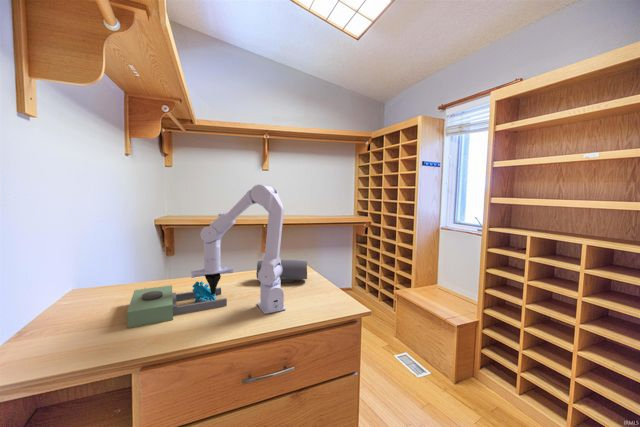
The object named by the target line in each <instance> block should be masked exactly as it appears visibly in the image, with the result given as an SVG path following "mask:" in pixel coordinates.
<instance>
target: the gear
mask: <svg viewBox="0 0 640 427" xmlns="http://www.w3.org/2000/svg"><path fill="white" fill-rule="evenodd" d="M192 288H193V289H192V291H193V292H196V294H195V296H196V298H195V299H193V300H194V303H198V301H200V302H205V301H211V300H217V297H215V296H217V295H216V294H213V295H211V291H210V286H209V284H208V283H206V284H205V282H203V281H195V283H194V284H193V285H192Z"/></svg>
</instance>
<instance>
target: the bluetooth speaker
mask: <svg viewBox="0 0 640 427" xmlns="http://www.w3.org/2000/svg"><path fill="white" fill-rule="evenodd" d="M262 262H263V260H258V261H257V262H256V273H255V274H256V279H257V280H259V279H258V272H259V271H260V269H261V265H262ZM281 266H282V269H283V270H282V274H281V275H280V280H281V283H293V282H294V281H299V280H308V261H307V260H297V259H294V260H293V259H281Z"/></svg>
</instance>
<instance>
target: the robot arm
mask: <svg viewBox="0 0 640 427" xmlns="http://www.w3.org/2000/svg"><path fill="white" fill-rule="evenodd" d="M255 204H258V205H260V206H261V207H263V208H264V210H265V211H266V212H267V213H268V217H267V218H268V219H267V229H266V237H265V249H264V257H263V259H262V261H263V262H262V265H261V269H260V271H259V272H258V279H257V280H258V281H259V284H260V287H259V288H260V294H259V295H260V301H258V302H256V305H257V306H258V307H259V309H260V310H261V311H262V312H263V314H264V315H266V314H270V313H276V312H280V311H285V310H287V307H286V306H285V305H284V302H285V300H284V299H285V298H284V296H285V294H284V291H283V289H282V285H281V283H282V282H281V280H280V275H281V274H282V270H283V269H282V266H281V260H282V258H281V256H280V253H281V245H282V244H281V243H282V235H283V234H282V232H283V224H284V214H285V213H284V212H285V207H284V205H283V203H282V200H281V198H280V194H279V191H278V190H277V189H275V187H274V186H272V185H271V184H267V185H263V184H255V185H254V186H253V187H252V188H251V189H249V190H248V191H247V192H246V193H245V194H244V195H243V196H242V197H241V198H240V199H239V200H238V202H237V203H236V204H235V205H234V206H233V207H232V208H231V209H230V210H229V211H224V212H220V213H219V214H217V216H218V217H217V218H216V219H214V220H213V221H211V222H210V223H209V226H204V227H203V228H202V229H201V231H200V233H199V234H200V239H201V240H202V241H203V264H204V265H203V267H204V268H202V269H199V270H191V271H190V277H191V278H190V279H195V278H199V277H205V279H206V281H207V284H208V285H209V286H208V287H209V288H210V291H211V295H213V294H215V291H216V288H218V287H217V286H218V284H219V281H220V280H221V277H222V275H221V274H223V275H224V274H233V273H234V267H233V266H223V267H222V265H221V242H222V239H223V237H224V234H225V233H226V232H228V231H229V230H230V228H232V227H233V226H234V225H235V224H236V222H237V221H236V219H237V218H238V217H239V216H240V215H241V214H242V213H243V212H245V211H246V210H247V209H248V208H249V207H251V206H253V205H255Z"/></svg>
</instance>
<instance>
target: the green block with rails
mask: <svg viewBox="0 0 640 427" xmlns="http://www.w3.org/2000/svg"><path fill="white" fill-rule="evenodd" d="M195 294H196V292H193V290H192V291H188V292H187V291H186V292H180V293H176V292H173V284H170V285H163V286H156V287H149V288H147V287H146V288H142V289H134V291H133V294H132V296H131V299H130V302H129V305H128V308H127V311H126V320H127V329H131V328H136V327H143V326H146V325H153V324H157V323H158V324H159V323H164V322H169V321H173V320H174V316H178V315H184V314H189V313H195V312H200V311H205V310H210V309H212V310H213V309H217V308H222V307H227V306H228V298H226V297H225V298H224V297H223V298H219V299H217V298H216V299H215V300H211V301H210V300H209V301H206V300H204V301H203V302H201V301H200V302H193V303H189V304H188V303H187V304H182V305H177V304H178V302H181V301H188V300H195V299H196V296H195ZM215 294H216V295H215V296H220V295H222V287H216V291H215Z"/></svg>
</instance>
